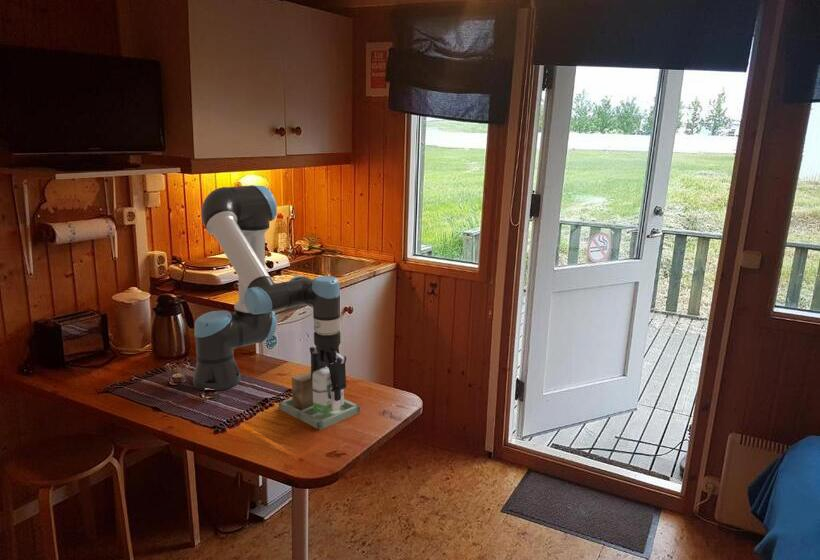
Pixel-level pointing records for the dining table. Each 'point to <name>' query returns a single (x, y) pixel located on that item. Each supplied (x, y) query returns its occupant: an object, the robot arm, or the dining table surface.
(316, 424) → the slot board
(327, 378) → the ink box
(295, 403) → the walnut block
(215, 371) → the robot arm
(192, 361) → the dining table surface
